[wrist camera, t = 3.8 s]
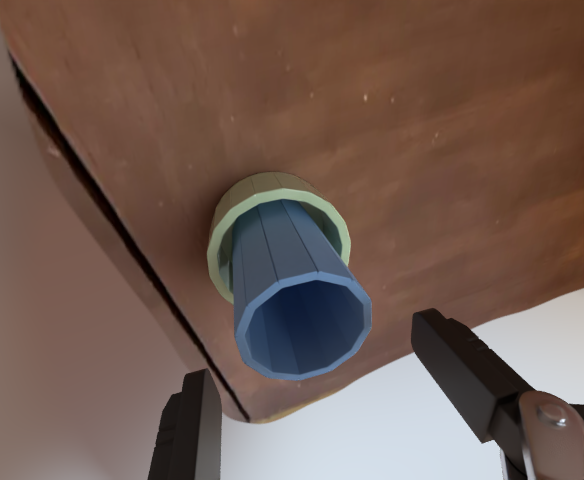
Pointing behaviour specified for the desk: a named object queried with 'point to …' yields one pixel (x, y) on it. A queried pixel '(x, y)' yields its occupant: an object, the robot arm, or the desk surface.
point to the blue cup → (293, 295)
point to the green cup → (261, 191)
